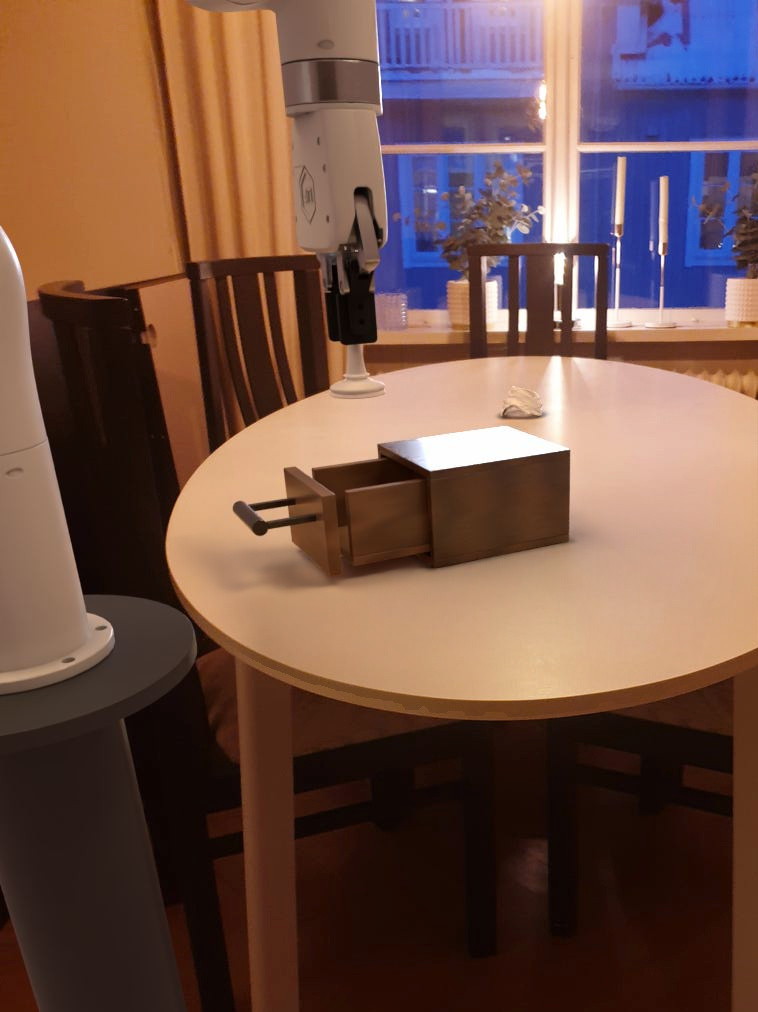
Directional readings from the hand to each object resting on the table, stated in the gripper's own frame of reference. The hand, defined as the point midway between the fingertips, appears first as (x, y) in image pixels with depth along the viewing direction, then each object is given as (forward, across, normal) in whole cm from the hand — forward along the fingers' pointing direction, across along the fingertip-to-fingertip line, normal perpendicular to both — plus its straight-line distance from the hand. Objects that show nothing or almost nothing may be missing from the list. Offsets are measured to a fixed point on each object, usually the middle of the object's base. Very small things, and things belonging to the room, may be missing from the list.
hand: (353, 340), depth 80 cm
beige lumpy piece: (+20, -51, +45) cm, 71 cm away
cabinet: (+20, -1, +12) cm, 23 cm away
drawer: (+19, -1, -2) cm, 19 cm away
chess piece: (+5, 0, 0) cm, 5 cm away
